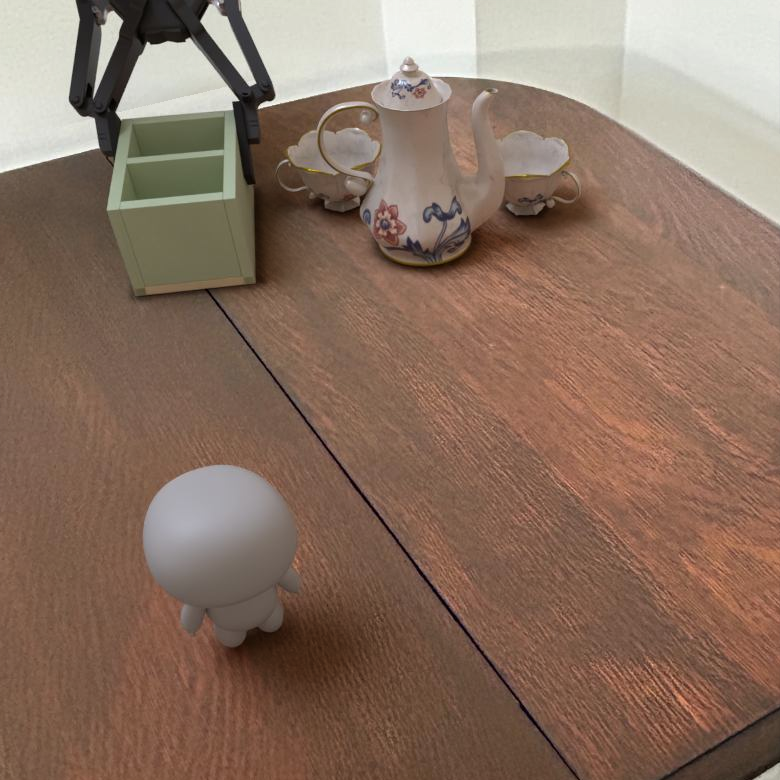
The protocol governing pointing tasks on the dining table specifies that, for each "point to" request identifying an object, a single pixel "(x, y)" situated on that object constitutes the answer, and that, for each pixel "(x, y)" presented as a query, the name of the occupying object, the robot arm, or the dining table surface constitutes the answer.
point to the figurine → (223, 549)
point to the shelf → (182, 203)
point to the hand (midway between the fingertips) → (188, 185)
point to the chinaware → (425, 169)
